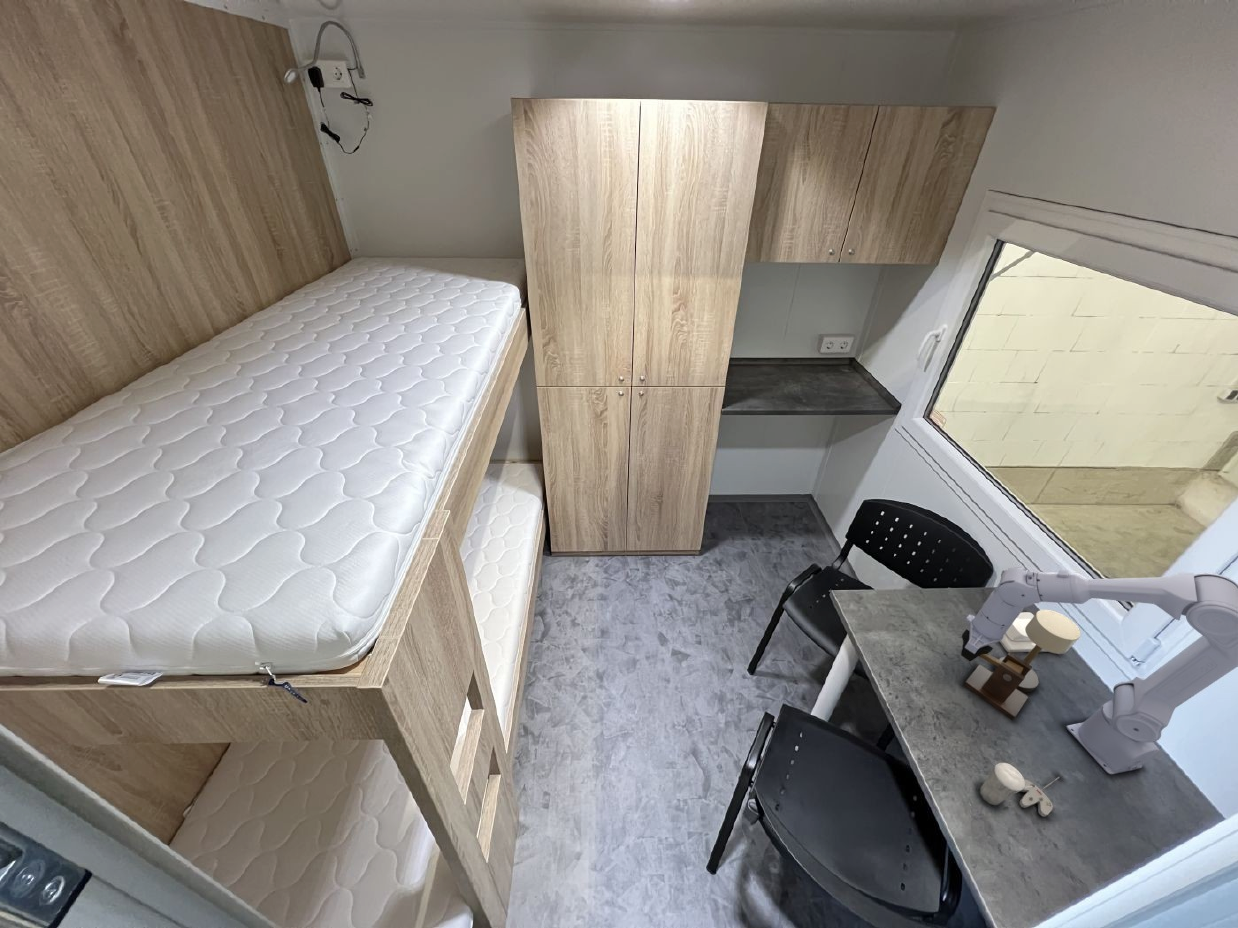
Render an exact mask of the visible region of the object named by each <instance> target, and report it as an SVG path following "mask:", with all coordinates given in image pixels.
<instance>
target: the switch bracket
mask: <svg viewBox="0 0 1238 928" xmlns="http://www.w3.org/2000/svg"><path fill="white" fill-rule="evenodd" d="M1004 657H1005V658H1004V660H1003V661H1002V663H1001V664H1000V665H999V666H998V667H997V668H996V670H995V669H994V670H993V672H992V671H991V670H989V669H988V668H987V667H985V666H983V665H982V664H980V663H979V664H978V665H977V666H976V668H975V669H974V670H973V671H972V673H971V674H969V676H968V678H967V679H966V680H965V681H964V683H963V686H965V688H968V689H969V690H970V691H971V692H973V693H975V694H976V695H977V696H978V697H980V698H981V699H982V700H984V701H985V702H987V703H988V704H990V705H991V706H992V707H994V708H996V709H997V710H998V711H999V712H1001V713H1002V714H1004V715H1005V716H1007V717H1008V718H1009V719H1011V720H1012V721H1014V720H1015V718H1016V717H1017V715H1018V714H1019V713H1020V711H1021V710H1022V708H1023V706H1024V705H1025V703H1026V702H1027V700H1028V699H1029V696H1028V695H1027V694H1025V693H1024V692H1021V691H1019V690H1017V689H1016V688H1017V687H1018V686H1019V685H1020V683H1021V682H1022V681H1023V680H1024V679H1025V676H1026V674H1027V673H1028V672H1029V671H1030V670H1031V668H1032V669H1033V666H1032V665H1030V664H1027V663H1026V662H1024V661H1023V660H1024V659H1023V660H1022V659H1021V658H1019V657H1018V656H1016V655H1015V654H1014V653H1013V652H1007V654H1006V656H1004ZM1008 660H1009V661H1011V662H1013V663H1015V664H1017V665H1019V666H1021V667H1023V671H1022V673H1021V674H1020V673H1018V672H1017V671H1015V670H1014V669H1012V668H1011V667H1009V666H1007V665H1006V664H1004V663H1006V662H1007V661H1008ZM1003 662H1004V663H1003Z"/></svg>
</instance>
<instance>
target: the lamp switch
mask: <svg viewBox="0 0 1238 928" xmlns="http://www.w3.org/2000/svg"><path fill="white" fill-rule="evenodd" d="M962 647H963V645H962V646H961V648H962ZM978 657H979V658H980V659H983V660H985V661H987V662H988V663H990V664H992V665H994V666H995V665H996V666H999V665H1000V664H1001V663H1002V661H1000V660H999V659H1000V658H996V657H995V656H993V655H991V654H990V653H988V654H982V655H980V656H978ZM1003 663H1004V662H1003ZM1004 664H1006V665H1007V666H1009V667H1011V668H1012V669H1014V670H1015V671H1017V672H1018V673H1020V674H1021V673H1022V671H1023V667H1021V666H1019V665H1017V664H1015V663H1013V662H1011V661H1009V660H1008V661H1007V662H1006V663H1004Z"/></svg>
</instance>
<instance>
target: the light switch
mask: <svg viewBox="0 0 1238 928" xmlns="http://www.w3.org/2000/svg"><path fill="white" fill-rule="evenodd" d="M1034 616H1035V614H1033V613H1032V612H1030V611H1024V612H1023V611H1022V612H1021V613H1020V614H1019V616H1018V617H1017V618H1016V619H1015V621H1014V622H1013V623H1012V625H1011V626H1010V628H1009V629H1008V630H1007V632H1006V633H1005V634H1004V637H1003V639H1002V640H1001V641H999V642H998V643H1000V645H1001V646H1002V647H1003V648H1004V650H1005V651H1006V652H1007V653H1009V652H1010V653H1030V651H1031V650H1032V649H1033V648H1034V647H1035V645H1036V644H1035V643H1033V642H1032V641H1031V640H1030V639H1029V637H1028V636H1027V634H1026V631H1025V628H1026V626H1027V625H1028V623H1029V622H1030V621H1031V620H1032V618H1033V617H1034ZM1044 652H1045V653H1047V652H1048V653H1050V652H1049V651H1046V650H1044V649H1042V650H1041V651H1040V652H1039V653H1044Z"/></svg>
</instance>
